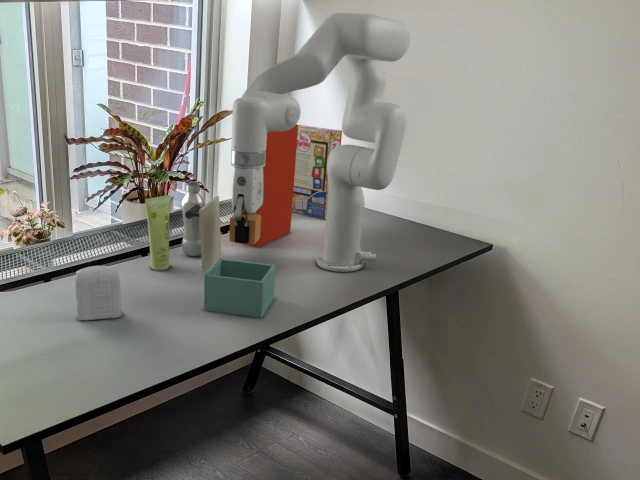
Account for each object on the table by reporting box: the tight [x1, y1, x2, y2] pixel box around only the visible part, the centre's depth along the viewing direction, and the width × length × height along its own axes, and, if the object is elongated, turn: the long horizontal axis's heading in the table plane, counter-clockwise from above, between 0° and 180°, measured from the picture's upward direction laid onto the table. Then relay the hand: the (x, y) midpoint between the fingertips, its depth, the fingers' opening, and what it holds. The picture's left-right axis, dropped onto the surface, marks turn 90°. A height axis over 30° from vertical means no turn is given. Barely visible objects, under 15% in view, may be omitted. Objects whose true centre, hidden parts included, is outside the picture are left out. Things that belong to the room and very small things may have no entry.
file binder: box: [242, 123, 299, 248], centre depth 212 cm, size 8×17×32 cm, turn 140°
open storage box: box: [203, 258, 277, 319], centre depth 174 cm, size 14×12×9 cm
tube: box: [144, 194, 171, 271], centre depth 193 cm, size 6×5×20 cm
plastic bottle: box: [180, 182, 206, 257], centre depth 202 cm, size 6×7×20 cm
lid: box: [185, 195, 222, 274], centre depth 171 cm, size 15×12×5 cm
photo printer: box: [74, 265, 122, 321], centre depth 167 cm, size 10×4×12 cm, turn 103°
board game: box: [292, 124, 343, 220], centre depth 236 cm, size 20×6×27 cm, turn 46°
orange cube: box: [228, 213, 261, 244], centre depth 167 cm, size 6×5×6 cm
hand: (245, 238), depth 168 cm, fingers closed on orange cube, 4 cm apart
